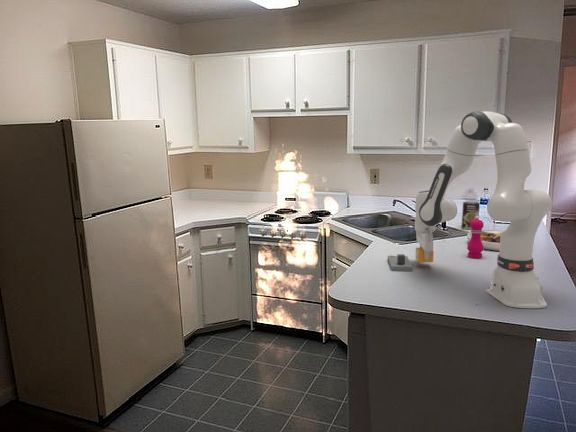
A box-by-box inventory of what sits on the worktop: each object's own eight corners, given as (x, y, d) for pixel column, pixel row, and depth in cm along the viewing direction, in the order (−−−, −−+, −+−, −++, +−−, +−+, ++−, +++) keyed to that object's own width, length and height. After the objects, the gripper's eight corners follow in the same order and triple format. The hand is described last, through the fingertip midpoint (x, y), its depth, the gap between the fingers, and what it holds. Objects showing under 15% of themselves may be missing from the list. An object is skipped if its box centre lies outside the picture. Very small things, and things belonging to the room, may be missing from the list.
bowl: (465, 237, 262) (466, 223, 260) (524, 240, 252) (525, 226, 251) (468, 251, 233) (469, 236, 232) (534, 255, 224) (536, 239, 223)
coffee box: (461, 229, 279) (463, 203, 276) (461, 227, 285) (462, 201, 282) (478, 230, 276) (479, 203, 273) (477, 228, 282) (478, 202, 279)
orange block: (433, 262, 205) (433, 251, 204) (418, 262, 205) (418, 251, 205) (430, 258, 211) (430, 247, 210) (415, 258, 212) (415, 247, 211)
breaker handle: (404, 264, 205) (405, 256, 204) (397, 263, 205) (398, 256, 205) (403, 262, 208) (404, 254, 207) (397, 262, 208) (397, 254, 208)
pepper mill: (484, 259, 218) (487, 217, 214) (468, 258, 220) (470, 217, 216) (481, 255, 225) (483, 214, 221) (465, 254, 227) (467, 214, 223)
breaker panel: (412, 271, 202) (412, 265, 202) (391, 270, 203) (391, 264, 203) (406, 260, 219) (407, 254, 218) (387, 259, 220) (387, 254, 219)
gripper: (437, 231, 195) (436, 262, 198) (427, 222, 215) (427, 250, 218) (422, 231, 196) (421, 262, 198) (413, 222, 216) (413, 250, 218)
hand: (424, 256), depth 208 cm, fingers closed on orange block, 7 cm apart
